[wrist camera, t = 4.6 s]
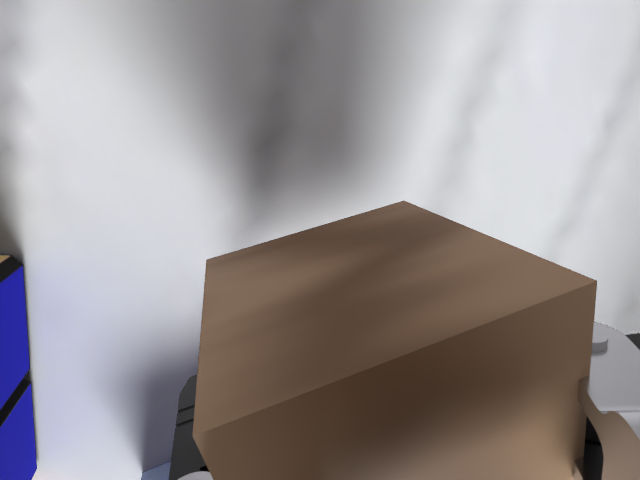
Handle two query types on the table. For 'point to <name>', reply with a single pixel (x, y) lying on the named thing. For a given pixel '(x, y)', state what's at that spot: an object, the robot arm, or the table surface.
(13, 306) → the puzzle cube
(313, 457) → the tan block
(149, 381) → the table surface
